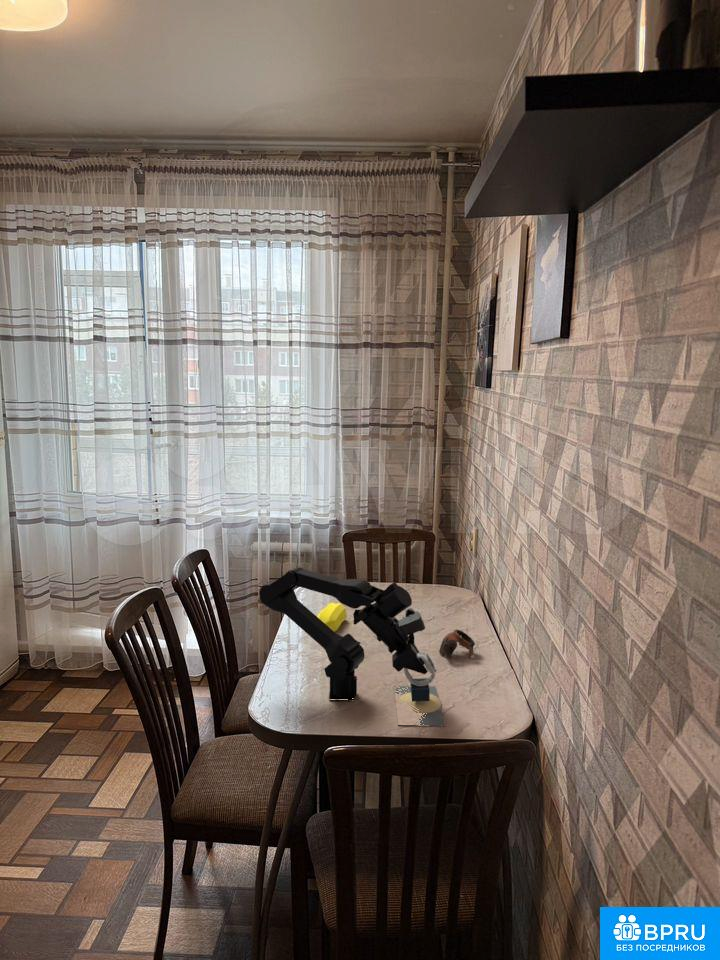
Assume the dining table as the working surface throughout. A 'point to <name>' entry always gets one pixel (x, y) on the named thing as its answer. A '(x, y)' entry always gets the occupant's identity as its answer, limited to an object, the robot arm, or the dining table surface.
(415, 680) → the watch
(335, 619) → the yellow faceted lump
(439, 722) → the mat
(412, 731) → the dining table surface
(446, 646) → the brown curved piece
